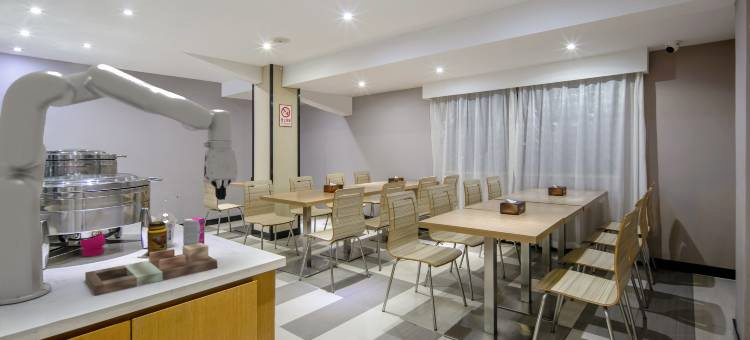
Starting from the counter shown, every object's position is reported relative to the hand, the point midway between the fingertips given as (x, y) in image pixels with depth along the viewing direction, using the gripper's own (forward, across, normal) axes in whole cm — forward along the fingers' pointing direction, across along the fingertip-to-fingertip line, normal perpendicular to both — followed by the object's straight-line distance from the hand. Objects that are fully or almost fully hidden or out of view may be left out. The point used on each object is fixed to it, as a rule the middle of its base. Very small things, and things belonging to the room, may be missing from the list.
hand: (220, 199), depth 126 cm
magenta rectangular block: (+21, -30, +39) cm, 54 cm away
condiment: (+22, -15, +23) cm, 35 cm away
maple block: (+19, -9, 0) cm, 21 cm away
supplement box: (+22, -1, +23) cm, 32 cm away
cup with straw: (+22, -8, +32) cm, 39 cm away
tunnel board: (+21, -21, 0) cm, 30 cm away
